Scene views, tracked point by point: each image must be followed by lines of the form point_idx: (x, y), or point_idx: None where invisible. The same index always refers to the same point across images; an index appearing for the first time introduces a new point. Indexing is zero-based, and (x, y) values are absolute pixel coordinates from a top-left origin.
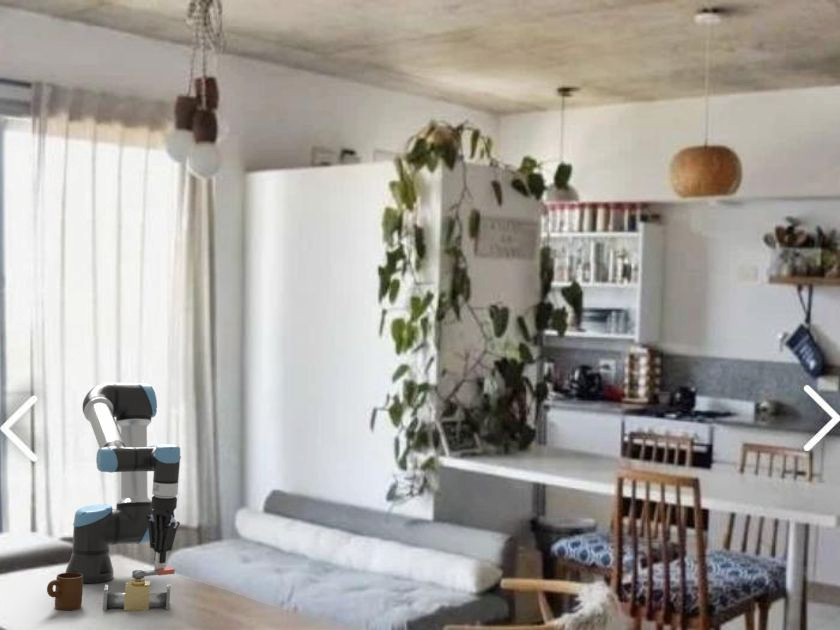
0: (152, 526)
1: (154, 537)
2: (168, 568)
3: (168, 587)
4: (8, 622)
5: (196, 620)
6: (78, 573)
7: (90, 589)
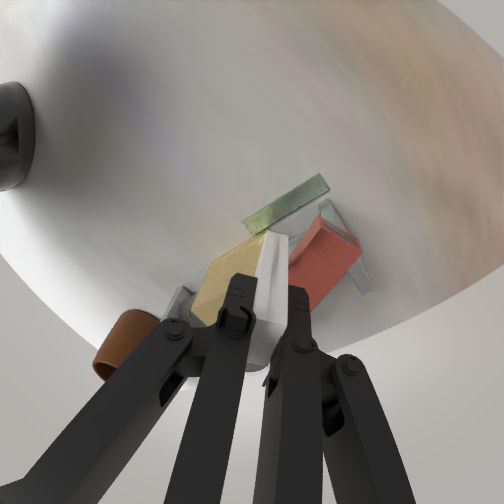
0: (98, 494)
1: (152, 417)
2: (323, 257)
3: (353, 269)
4: None
5: (448, 287)
6: (108, 364)
7: (59, 200)
